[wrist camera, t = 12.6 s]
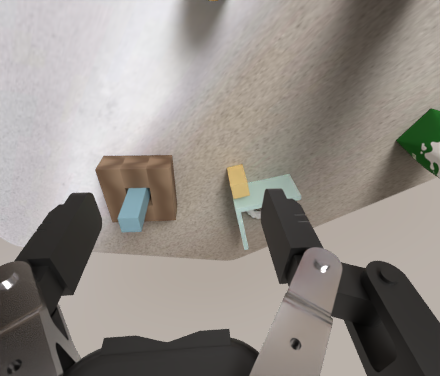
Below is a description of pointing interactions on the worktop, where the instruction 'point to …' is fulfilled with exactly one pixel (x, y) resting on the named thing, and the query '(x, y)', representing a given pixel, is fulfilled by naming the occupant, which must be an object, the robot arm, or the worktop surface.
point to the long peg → (134, 209)
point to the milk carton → (424, 141)
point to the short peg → (238, 181)
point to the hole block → (139, 183)
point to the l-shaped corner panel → (257, 198)
